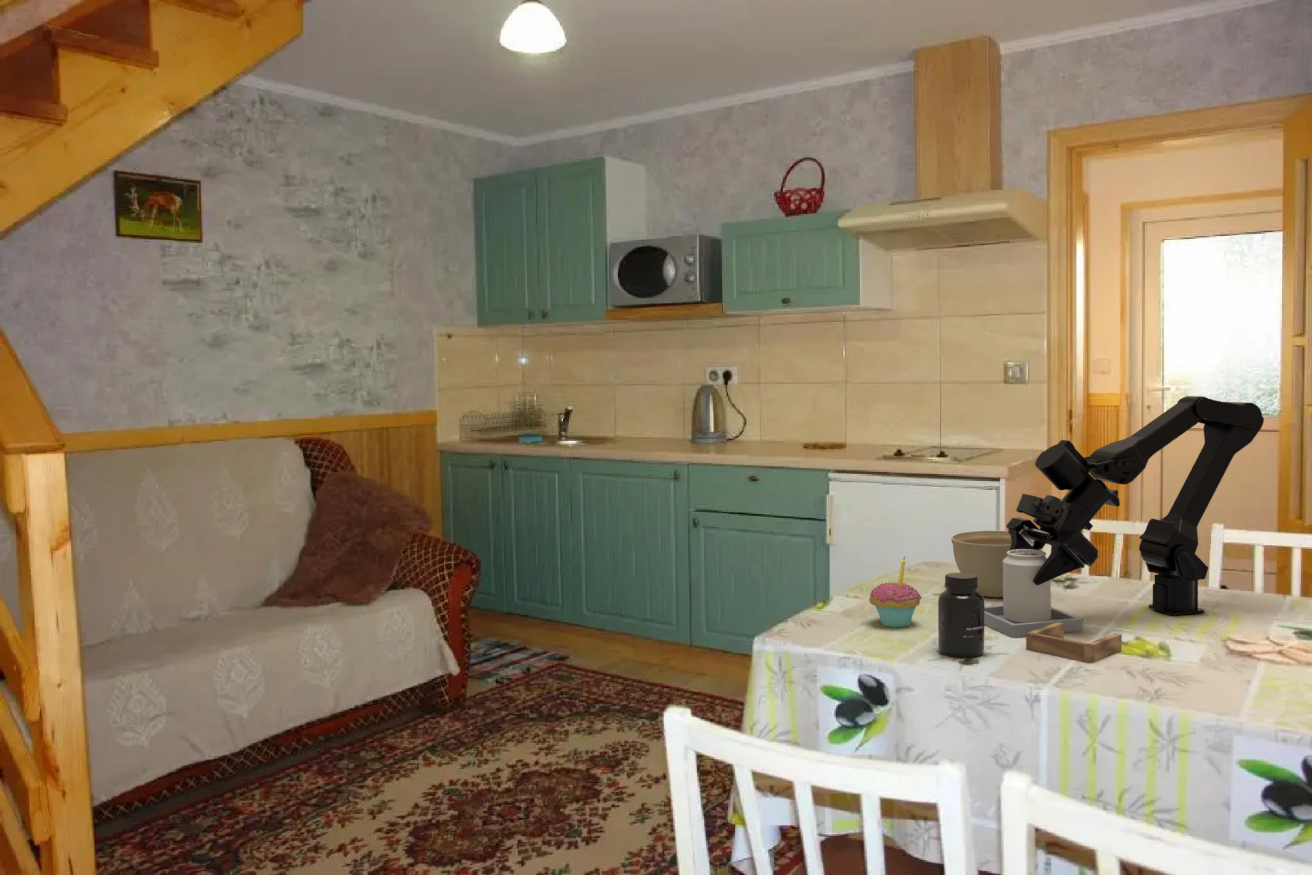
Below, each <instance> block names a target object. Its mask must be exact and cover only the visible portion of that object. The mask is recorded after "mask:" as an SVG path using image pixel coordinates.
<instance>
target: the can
mask: <svg viewBox="0 0 1312 875" xmlns="http://www.w3.org/2000/svg"><path fill="white" fill-rule="evenodd" d="M1007 554H1008V556H1007V557H1006V558H1005V559H1004V560H1003V597H1002V600H1003V601H1002V602H1003V603H1002V605H1003V613H1004V617H1005V618H1006V619H1007V620H1008V621H1009V622H1012V623H1014V624H1019V623H1029V622H1040V621H1048V620H1050V618H1051V607H1052V598H1051V597H1052V596H1051V595H1052V594H1051V593H1052V592H1051V586H1052V585H1051V580H1052V579H1051V580H1049V581H1047V582H1045V583H1042V584H1040V585H1035V583H1034V582H1033V579H1034V578H1035V576H1036V574H1037V573H1038V571H1039V570H1040V568H1041V567H1042V565H1043V564H1044V563H1045V561H1046V560H1047V558H1048V557H1047V556H1046V555H1047V553H1046V552H1045V551H1043V550H1041V549H1040V550H1033V549H1015V550H1010V551H1008V552H1007Z"/></svg>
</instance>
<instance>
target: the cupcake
mask: <svg viewBox="0 0 1312 875" xmlns="http://www.w3.org/2000/svg"><path fill="white" fill-rule="evenodd" d="M905 559H906V555H904V556H903V559H902V560H901V561H900V568H899V576H898V582H885V583H881V584H879V585H877V586H876V587H874V588H873V589H872V590H871V592H870V593H869V594H870V595H869V597H868V598H869V599H868V600H869V603H870V604H871V605H872V606H874V607H875V609H876V610H877V613H878V615H879V619H880V623H881V624H882V625H883V624H884V625H883V626H885V625H886V626H885V627H889V626H891V627H892V628H903V627H904V626H905V627H908V626H910V624H911V622H912V617H913V616H914V613H915V610H916V608H917V606H919V605H920V603H921V601H920V600H921V599H922V597H921V594H920V593H919V592H918V590H917V589H915V588H914V587H913V586H912V585H910V584H907V583H905V582H904V576H905V575H904V574H905V567H906V560H905ZM891 627H890V628H891Z"/></svg>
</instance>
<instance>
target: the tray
mask: <svg viewBox="0 0 1312 875" xmlns="http://www.w3.org/2000/svg"><path fill="white" fill-rule="evenodd" d="M1083 620H1084V619H1083V618H1081V617H1078V616H1077V615H1073V614H1071V613H1068V612H1065V611H1063V610H1060V609H1057V608H1055V607H1052V606H1051V618H1050V620H1048V621H1040V622H1029V623H1019V624H1014V623H1012V622H1009V621H1008V620H1007V619H1006V618H1005V617H1004V613H1003V604H1002V605H1001V604H1000V605H991V606H984V624H985V625H984V626H986V627H988V628H991V629H993V630H995V631H998V632H999V633H1001V634H1004V633H1005V634H1004V635H1006V634H1007V635H1006V636H1009V637H1010V638H1013V637H1015V638H1023V637H1025V638H1026V633H1028V632H1031V631H1034V630H1037V629H1040V628H1043V627H1046V626H1048V625H1051V624H1054V623H1057V622H1059V623H1064V634H1066V633H1074V632H1075V633H1077V632H1083V631H1084V629H1083V628H1084V626H1083V625H1084V621H1083Z"/></svg>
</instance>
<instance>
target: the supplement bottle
mask: <svg viewBox="0 0 1312 875" xmlns="http://www.w3.org/2000/svg"><path fill="white" fill-rule="evenodd" d="M944 588H946V590H944V591H941V593H940V594H939V596H938V602H937V604H938V606H937V610H938V611H937V612H938V614H937V616H938V618H937V619H938V620H937V621H938V623H937V624H938V628H937V630H938V632H937V633H938V634H937V635H938V638H937V640H938V642H937V643H938V644H937V645H938V650H939V651H940V653H941V654H943V655H946V656H948V657H953V658H955V657H956V658H975V657H980V656H982V655H983V654H984V652H985V625H984V607H985V599H984V596H982V595H981V594H980V593H978V592H977V591H976V589H977V588H978V577H977V576H976V575H974V574H969V573H960V572H949V573H947V574H945V575H944Z"/></svg>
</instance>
